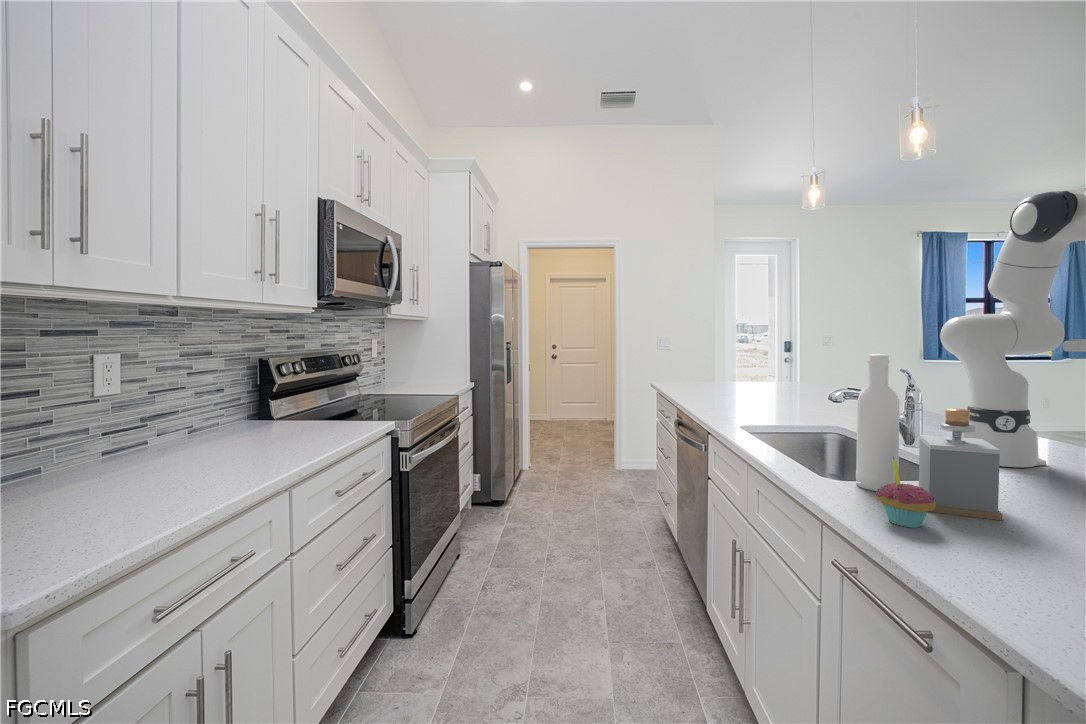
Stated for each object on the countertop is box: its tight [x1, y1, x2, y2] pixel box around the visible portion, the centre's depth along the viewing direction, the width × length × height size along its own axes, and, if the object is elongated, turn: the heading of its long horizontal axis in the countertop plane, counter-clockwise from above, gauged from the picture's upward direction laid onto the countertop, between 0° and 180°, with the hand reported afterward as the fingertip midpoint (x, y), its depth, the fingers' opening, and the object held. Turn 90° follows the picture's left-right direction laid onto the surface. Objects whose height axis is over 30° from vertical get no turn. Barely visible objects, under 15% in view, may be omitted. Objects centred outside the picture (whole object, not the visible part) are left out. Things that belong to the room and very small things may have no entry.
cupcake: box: [876, 456, 936, 529], centre depth 86 cm, size 9×8×12 cm
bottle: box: [855, 353, 901, 492], centre depth 106 cm, size 8×8×30 cm
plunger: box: [939, 407, 975, 444], centre depth 93 cm, size 8×8×18 cm
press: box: [918, 434, 1004, 521], centre depth 94 cm, size 11×11×13 cm
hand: (1065, 345), depth 84 cm, fingers open, 8 cm apart
